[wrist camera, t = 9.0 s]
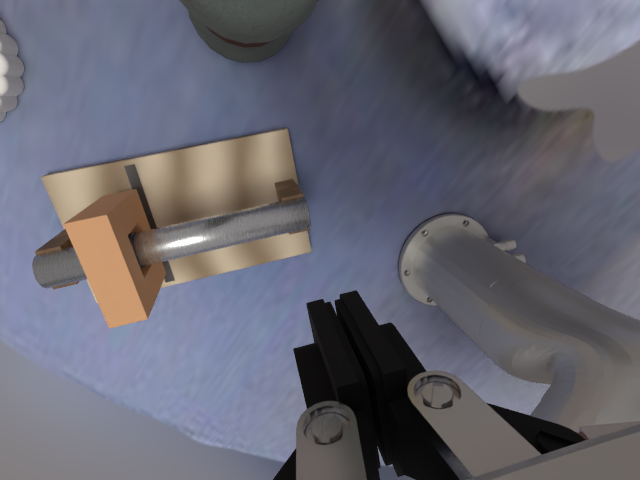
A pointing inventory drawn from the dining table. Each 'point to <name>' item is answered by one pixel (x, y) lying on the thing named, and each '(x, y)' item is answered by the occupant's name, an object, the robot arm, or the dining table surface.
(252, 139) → the pipe stand
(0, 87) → the mooncake
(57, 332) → the dining table surface
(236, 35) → the bottle
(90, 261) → the collar
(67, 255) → the pipe
